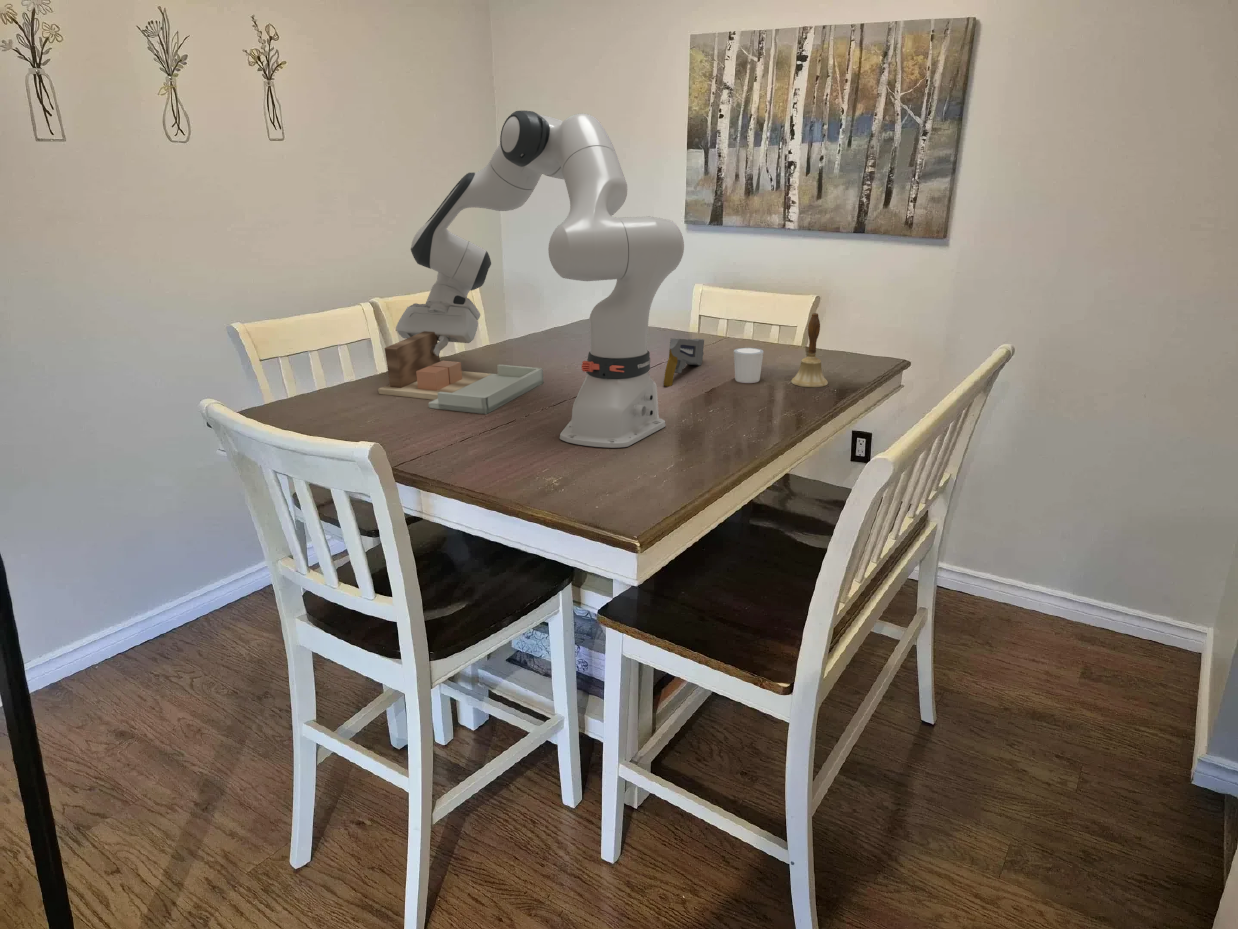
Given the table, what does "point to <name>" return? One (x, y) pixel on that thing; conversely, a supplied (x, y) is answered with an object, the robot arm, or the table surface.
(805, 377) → the hand bell
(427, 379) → the terracotta block
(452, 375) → the terracotta square block
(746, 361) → the white tapered cylinder
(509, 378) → the tray
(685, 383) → the table surface
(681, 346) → the gun
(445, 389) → the board
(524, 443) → the table surface
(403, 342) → the bar
